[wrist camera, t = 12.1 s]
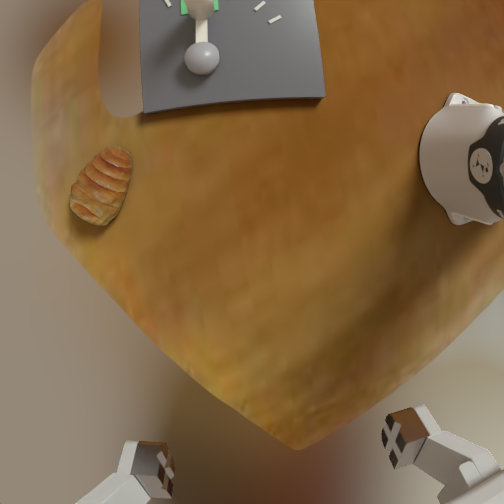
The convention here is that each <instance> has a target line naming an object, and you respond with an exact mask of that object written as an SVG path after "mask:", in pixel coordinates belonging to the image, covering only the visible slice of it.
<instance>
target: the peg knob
mask: <svg viewBox="0 0 504 504" xmlns="http://www.w3.org/2000/svg"><path fill="white" fill-rule="evenodd" d="M184 2H185V5H186V8H187V10H188V13H189V16H190V17H191V18H193V19H195V20H196V43H195V44H193V45H191V46H190V47H189V48H188V49H187V51H186V53H185V56H184V60H185V64H186V65H187V67H188V69H189V70H190V71H191V72H192V73H194V74H196V75H201V76H203V75H208V74H210V73H212V72H214V71H215V70H216V69H217V67H218V65H219V62H220V57H219V51H218V49H217V48H216V47H215V46H214V45H213V44H211V43H209V42H208V20H207V19H208V18H209V17H211V16H212V14H213V13H214V2H213V0H184Z"/></svg>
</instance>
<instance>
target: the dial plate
mask: <svg viewBox="0 0 504 504" xmlns="http://www.w3.org/2000/svg"><path fill="white" fill-rule="evenodd" d="M213 2H214V13H213V14H212V16H211V17H209V18H208V19H207V20H208V42H209V43H211V44H213V45H214V46H215V47H216V48H217V49H218V51H219V57H220V62H219V65H218V67H217V69H216V70H215V71H214V72H212V73H210V74H208V75H203V76H201V75H196V74H194V73H192V72H191V71H190V70H189V69H188V67H187V65H186V64H185V60H184V56H185V53H186V51H187V49H188V48H189V47H190V46H191V45H193V44H195V43H196V20H195V19H193V18H191V17H190V16H189V13H188V10H187V8H186V5H185V2H184V0H140V55H141V79H142V95H143V109H144V113H145V114H152V113H157V112H163V111H169V110H176V109H182V108H189V107H197V106H205V105H213V104H223V103H233V102H245V101H259V100H278V99H322V98H324V97H326V96H325V86H324V76H323V68H322V59H321V51H320V44H319V36H318V29H317V23H316V16H315V10H314V4H313V0H213Z"/></svg>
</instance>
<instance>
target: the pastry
mask: <svg viewBox="0 0 504 504" xmlns="http://www.w3.org/2000/svg"><path fill="white" fill-rule="evenodd" d="M132 171H133V160H132V156H131V154H130V153H129V152H128V151H127V150H125V149H123V148H121V147H119V146H110V147H106V148H105V149H104V150H103V151H101V152H100V153H99V154H97V155H95V157H94V158H93V159H92V160H91V161H90V162H89V163H88V164H87V165H86V167H85V168H84V169H82V170H81V172H80V174H79V177H78V180H77V182H76V183H74V184H73V185H72V187H71V195H70V198H69V199H70V208H71V210H72V211H73V212H74V213H75V214H76V215H77V216H78V217H80V218H81V219H82V220H84V221H87V222H89V223H91V224H94V225H98V226H106V225H107V224H108V223H109V222H110V221H111V220H112V219H113V218H115V217H116V216H117V215H118V213H119V210H120V208H121V206H122V203H123V201H124V199H125V196H126V193H127V189H128V185H129V182H130V178H131V175H132Z"/></svg>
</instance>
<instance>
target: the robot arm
mask: <svg viewBox="0 0 504 504" xmlns="http://www.w3.org/2000/svg"><path fill="white" fill-rule="evenodd" d="M462 102H463V104H462ZM420 167H421V173H422V176H423V179H424V182H425V185H426V187H427V189H428V191H429V192H430V194H431V195H432V196H433V198H434V199H435V200H436V201H437V202H438V203H440V204H441V205H442V206H443V207H444V208H445V210H446V212H447V214H448V217H449V219H450V221H451V222H452V223H453V224H455V225H462V224H465V223H468V222H471V221H473V220H475V221H478V222H481V223H484V224H487V225H492V224H493V223H494V222H498V221H500V220H501V219H504V109H502V108H501V107H499V106H495V105H492V104H480V103H478V102H476V101H474V100H472V99H470V98H468V97H466V96H464V95H462V94H459V93H451V94H450V95H449V97H448V99H447V101H446V103H445V105H444V107H443V108H442V109H441V110H440V111H439V112H437V113H436V114H435V115H434V116H433V117H432V118H431V119H430V121H429V122H428V124H427V125H426V127H425V129H424V132H423V135H422V138H421V143H420ZM385 421H386V423H387V424H386V425H385V426H384V427H383V429H382V442H383V445H384V447H385V449H387V450H388V451H390V455H389V459H390V461H391V463H392V465H393V467H394V469H397V468H400V467H404V466H407V465H409V464H413V463H414V465H416V466H417V467H419V468H420V469H421V470H423V471H424V472H426V473H427V474H429V475H430V476H432V477H433V478H435V479H436V480H438V481H439V482H441V483H442V484H444V485H445V487H444V488H443V489H442V490H441V492H440V493H439V494H438V496H437V497H438V500H439V502H440V504H504V470H501V469H500V467H499V465H498V464H497V462H496V461H495V459H494V458H493V456H492V455H491V453H490V452H489V450H487V449H486V448H483V447H481V446H478V445H476V444H474V443H472V442H470V441H467V440H465V439H463V438H460V437H458V436H456V435H454V434H452V433H450V432H448V431H445V430H444V431H441V429H440V428H439V426H438V425H437V423H436V422H435V420H434V419H433V417H432V416H431V414H430V412H429V411H428V409H427V408H426V406H425V405H423V404H420V405H417V406H414V407H411V408H407V409H404V410H401V411H397V412H394V413H391V414H388V415H387V416H386V419H385ZM168 449H169V447H168V445H167V443H166V442H147V441H136V440H127V441H126V442H125V444H124V447H123V451H122V454H121V458H120V462H119V465H118V469H117V473H112V474H111V475H110V476H108V477H107V478H106V479H105V480H104V481H103V482H101V483H100V484H99V485H98V486H96V487H95V488H94V489H93V490H92V491H90V492H89V493H88V494H87V495H85V496H84V497H83V498H82V499H80V500H79V501H78V502H77V503H75V504H147V502H148V501H149V500H150V499H151V498H150V497H153V498H172V493H173V483H172V481H171V480H170V479H171V478H172V477H174V475H175V461H174V457H173V455H172V454H171V453H170V452H168Z"/></svg>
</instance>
